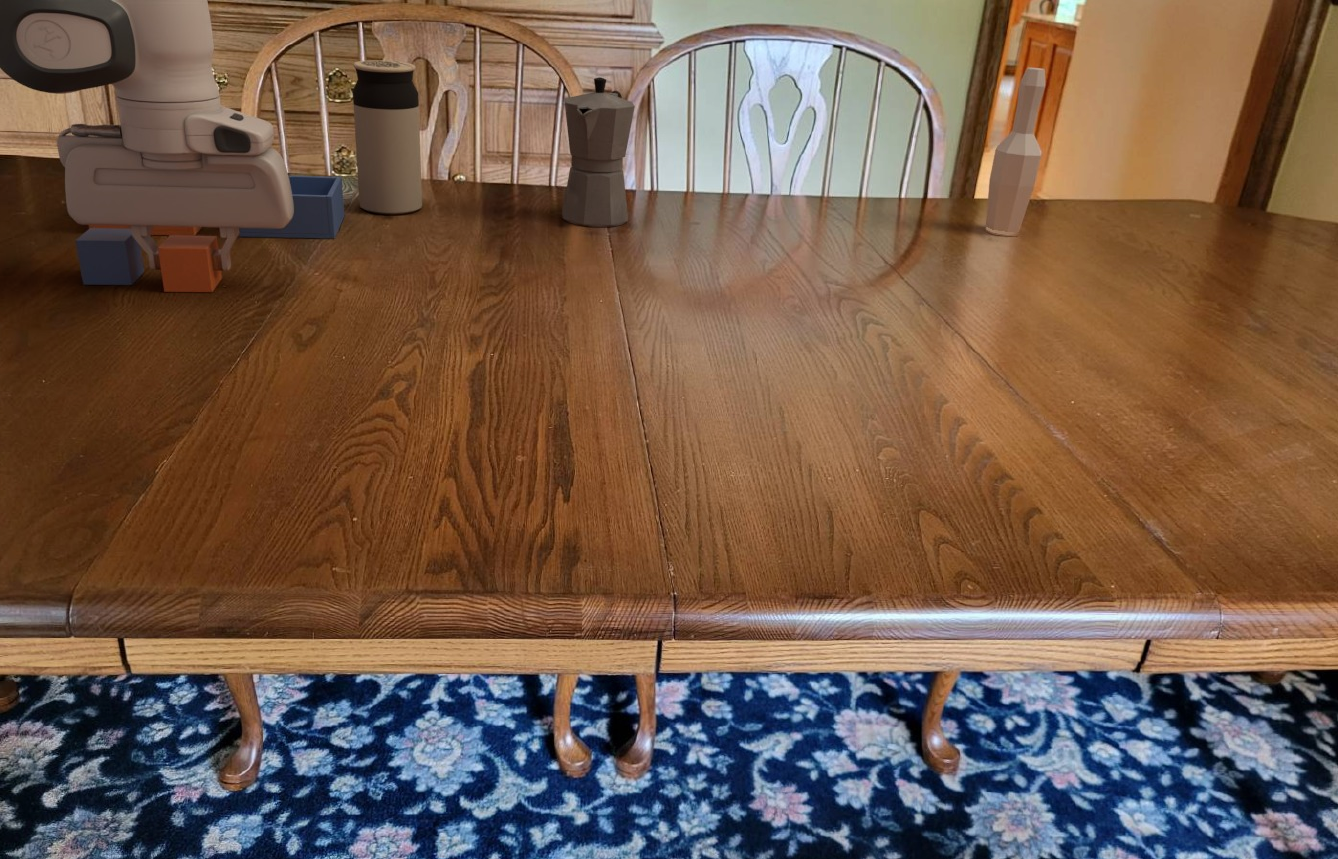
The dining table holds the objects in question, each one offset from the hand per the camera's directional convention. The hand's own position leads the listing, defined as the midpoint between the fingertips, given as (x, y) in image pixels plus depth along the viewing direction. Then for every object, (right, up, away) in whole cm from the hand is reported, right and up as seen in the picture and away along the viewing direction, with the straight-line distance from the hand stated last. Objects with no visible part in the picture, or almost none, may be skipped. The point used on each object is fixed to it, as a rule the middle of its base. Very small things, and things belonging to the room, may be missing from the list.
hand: (191, 268), depth 105 cm
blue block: (-8, -1, +1) cm, 8 cm away
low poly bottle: (+95, +12, +43) cm, 105 cm away
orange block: (0, -2, +1) cm, 2 cm away
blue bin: (+2, +9, +22) cm, 24 cm away
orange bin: (-13, +8, +19) cm, 25 cm away
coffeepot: (+38, +12, +36) cm, 54 cm away
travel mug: (+11, +13, +33) cm, 37 cm away
